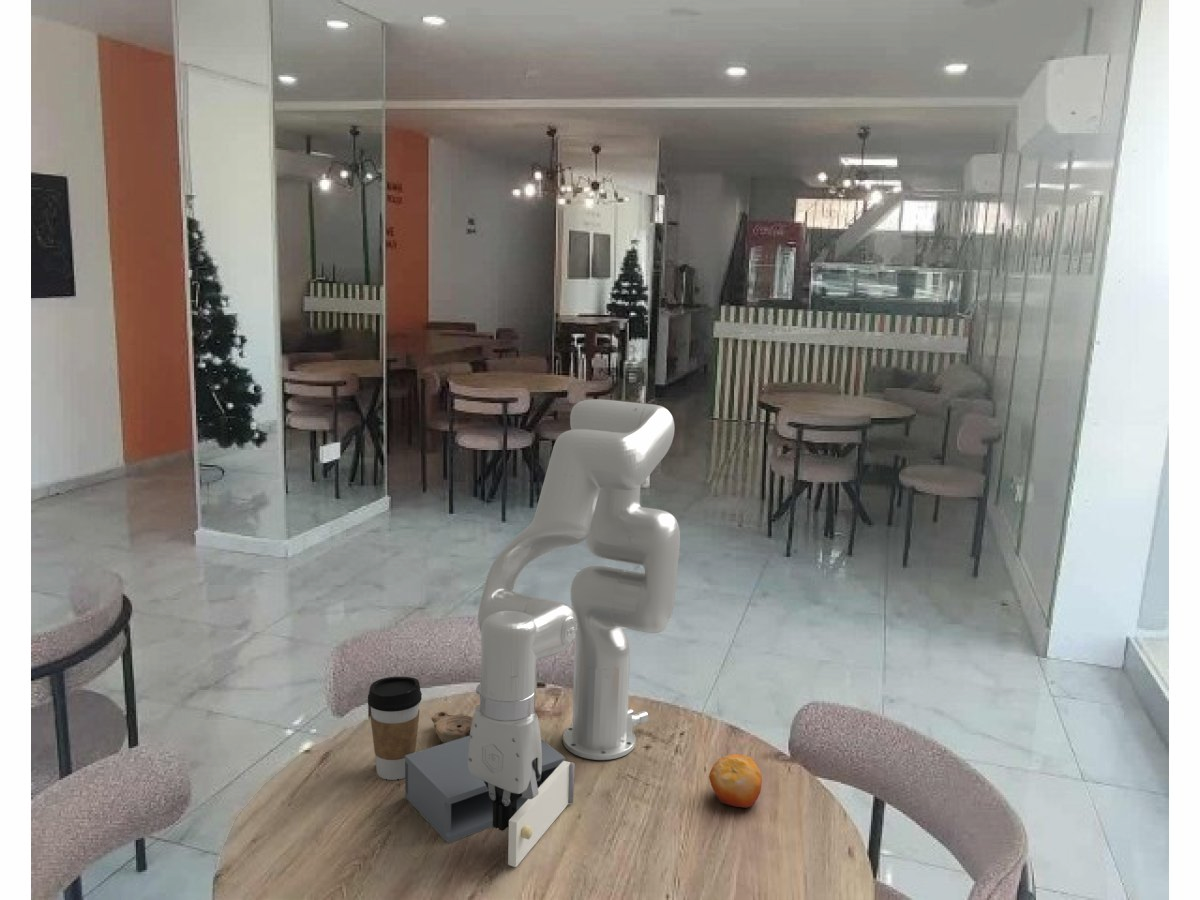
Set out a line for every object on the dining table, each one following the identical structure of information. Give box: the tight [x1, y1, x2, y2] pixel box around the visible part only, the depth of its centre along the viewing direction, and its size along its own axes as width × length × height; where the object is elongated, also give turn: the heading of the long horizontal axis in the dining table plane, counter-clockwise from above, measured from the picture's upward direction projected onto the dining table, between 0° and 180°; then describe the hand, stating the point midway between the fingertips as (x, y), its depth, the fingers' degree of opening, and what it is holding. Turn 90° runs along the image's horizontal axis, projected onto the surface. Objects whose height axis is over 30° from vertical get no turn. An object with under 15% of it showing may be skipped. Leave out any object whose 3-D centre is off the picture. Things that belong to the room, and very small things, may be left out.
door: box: [507, 760, 575, 868], centre depth 130 cm, size 18×2×7 cm, turn 157°
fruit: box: [708, 753, 763, 809], centre depth 141 cm, size 8×8×8 cm
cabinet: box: [404, 736, 566, 844], centre depth 138 cm, size 20×14×7 cm
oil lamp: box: [431, 710, 473, 744], centre depth 155 cm, size 13×8×5 cm, turn 36°
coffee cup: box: [367, 676, 423, 781], centre depth 144 cm, size 8×8×15 cm
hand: (504, 824), depth 126 cm, fingers closed
